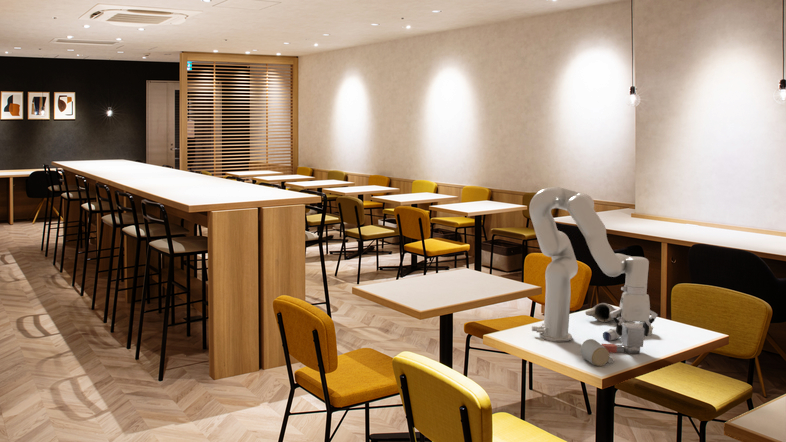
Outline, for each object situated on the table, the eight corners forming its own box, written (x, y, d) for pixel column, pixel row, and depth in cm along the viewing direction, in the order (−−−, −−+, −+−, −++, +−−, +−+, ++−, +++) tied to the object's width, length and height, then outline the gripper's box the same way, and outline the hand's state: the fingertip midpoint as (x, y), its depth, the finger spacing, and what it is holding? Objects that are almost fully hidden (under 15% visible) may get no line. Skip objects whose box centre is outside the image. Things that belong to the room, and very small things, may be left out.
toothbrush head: (601, 329, 240) (645, 314, 251) (601, 345, 242) (645, 329, 252) (611, 333, 236) (655, 317, 246) (611, 349, 237) (656, 333, 248)
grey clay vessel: (598, 335, 271) (589, 324, 260) (590, 317, 276) (581, 306, 265) (633, 321, 266) (626, 309, 255) (624, 303, 271) (617, 291, 260)
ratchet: (605, 354, 223) (607, 333, 222) (599, 348, 229) (600, 327, 228) (642, 354, 223) (644, 333, 222) (635, 348, 229) (637, 328, 228)
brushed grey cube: (626, 346, 223) (628, 328, 222) (620, 341, 228) (621, 323, 228) (643, 346, 223) (644, 328, 222) (636, 341, 229) (637, 323, 228)
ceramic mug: (591, 368, 208) (593, 346, 207) (578, 359, 216) (580, 339, 215) (618, 366, 211) (620, 345, 210) (604, 358, 219) (606, 337, 218)
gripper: (616, 292, 219) (612, 337, 221) (663, 293, 220) (659, 338, 222) (608, 287, 227) (605, 331, 229) (654, 288, 227) (650, 332, 229)
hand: (632, 334), depth 225 cm, fingers open, 9 cm apart
